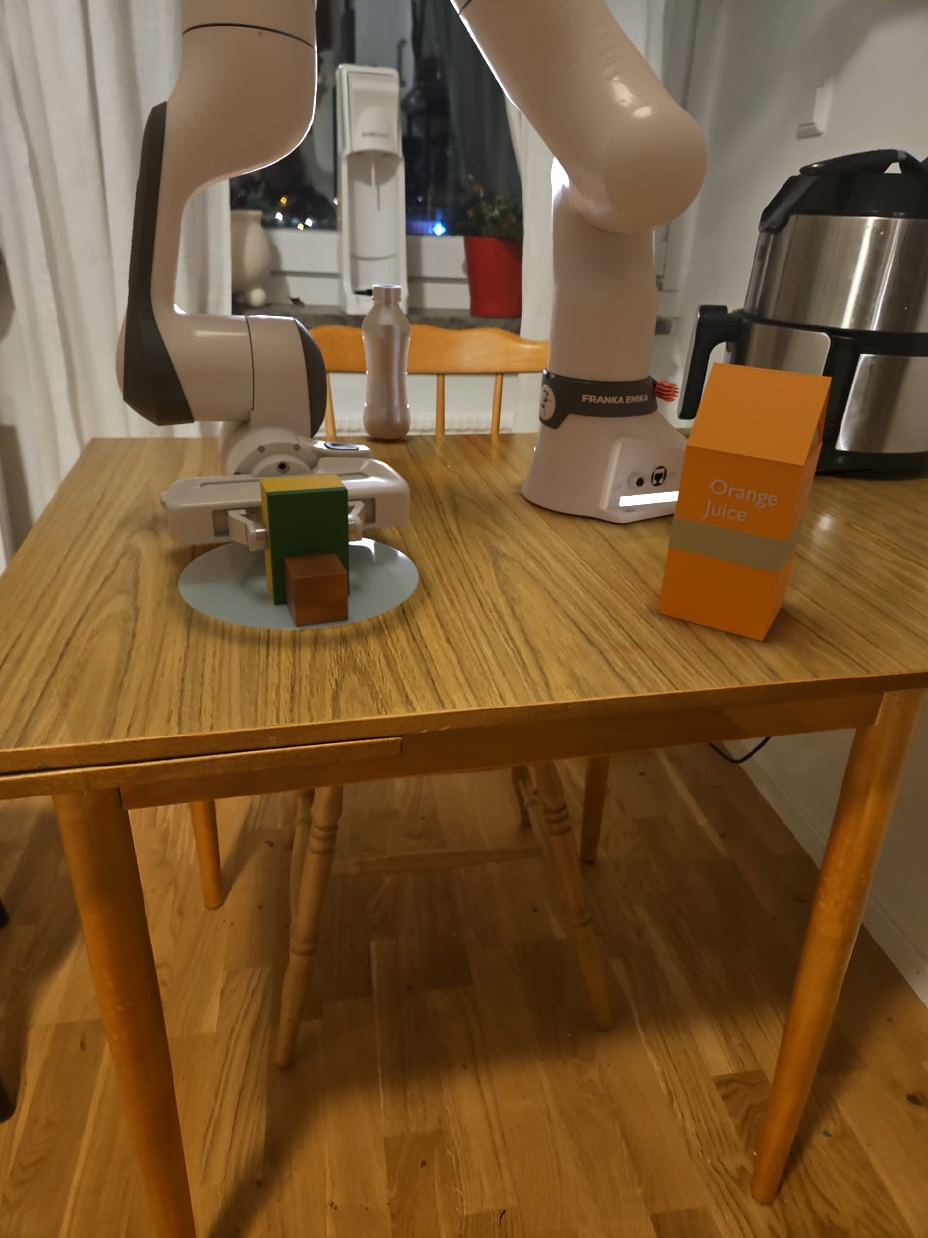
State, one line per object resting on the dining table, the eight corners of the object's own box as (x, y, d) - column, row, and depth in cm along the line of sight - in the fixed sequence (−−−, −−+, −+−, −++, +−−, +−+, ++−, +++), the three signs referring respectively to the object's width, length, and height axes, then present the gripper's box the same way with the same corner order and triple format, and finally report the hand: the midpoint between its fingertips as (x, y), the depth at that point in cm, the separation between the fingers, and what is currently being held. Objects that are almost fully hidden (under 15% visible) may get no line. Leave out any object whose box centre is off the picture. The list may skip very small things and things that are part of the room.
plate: (382, 535, 81) (382, 524, 81) (451, 624, 65) (452, 610, 64) (171, 555, 74) (170, 542, 74) (189, 659, 58) (188, 645, 57)
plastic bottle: (403, 446, 111) (405, 289, 102) (356, 441, 112) (354, 285, 103) (415, 434, 117) (418, 285, 108) (370, 430, 118) (369, 282, 109)
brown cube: (336, 598, 65) (335, 552, 63) (348, 620, 62) (347, 572, 60) (286, 604, 64) (283, 557, 62) (295, 627, 60) (293, 578, 59)
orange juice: (683, 582, 74) (725, 355, 65) (782, 607, 70) (842, 370, 61) (655, 613, 68) (698, 368, 59) (762, 642, 64) (825, 385, 55)
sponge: (338, 576, 69) (336, 473, 65) (349, 596, 65) (348, 489, 61) (266, 584, 67) (259, 478, 63) (274, 605, 63) (267, 495, 59)
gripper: (153, 456, 70) (162, 509, 58) (384, 444, 76) (431, 489, 65) (162, 525, 72) (172, 588, 61) (383, 507, 79) (429, 561, 68)
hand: (308, 537), depth 63 cm, fingers closed on sponge, 6 cm apart
